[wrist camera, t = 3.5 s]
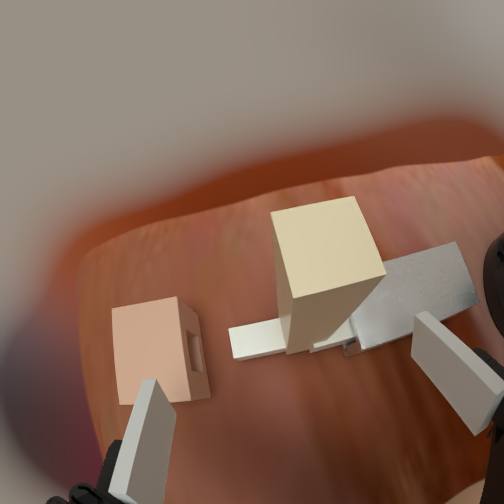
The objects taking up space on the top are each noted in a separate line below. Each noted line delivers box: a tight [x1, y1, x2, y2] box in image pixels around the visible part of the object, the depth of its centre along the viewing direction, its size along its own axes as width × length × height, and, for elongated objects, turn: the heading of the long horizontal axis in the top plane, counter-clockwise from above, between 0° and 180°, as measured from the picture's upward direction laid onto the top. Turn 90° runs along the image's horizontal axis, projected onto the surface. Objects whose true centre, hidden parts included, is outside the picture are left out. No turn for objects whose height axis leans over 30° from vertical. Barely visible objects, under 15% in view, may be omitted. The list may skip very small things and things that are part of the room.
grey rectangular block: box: [341, 241, 480, 358], centre depth 22 cm, size 12×6×6 cm, turn 101°
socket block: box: [112, 297, 211, 405], centre depth 22 cm, size 6×8×6 cm
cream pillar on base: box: [229, 196, 387, 361], centre depth 16 cm, size 20×4×17 cm, turn 101°
